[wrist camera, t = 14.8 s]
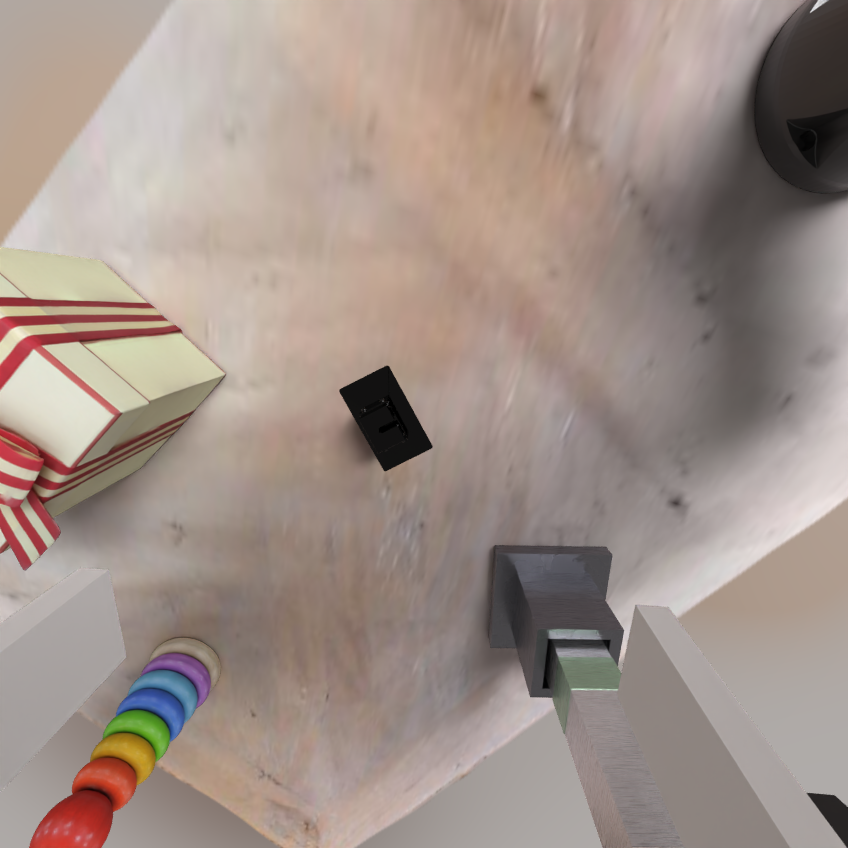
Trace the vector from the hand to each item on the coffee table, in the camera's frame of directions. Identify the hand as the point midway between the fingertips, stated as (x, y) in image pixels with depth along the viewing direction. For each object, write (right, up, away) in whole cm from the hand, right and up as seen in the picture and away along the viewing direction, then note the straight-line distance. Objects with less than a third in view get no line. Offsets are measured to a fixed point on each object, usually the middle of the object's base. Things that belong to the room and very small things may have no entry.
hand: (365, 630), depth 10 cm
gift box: (-28, +9, +29) cm, 41 cm away
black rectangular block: (-2, +6, +31) cm, 31 cm away
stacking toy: (-26, -23, +38) cm, 51 cm away
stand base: (+15, -14, +35) cm, 41 cm away
